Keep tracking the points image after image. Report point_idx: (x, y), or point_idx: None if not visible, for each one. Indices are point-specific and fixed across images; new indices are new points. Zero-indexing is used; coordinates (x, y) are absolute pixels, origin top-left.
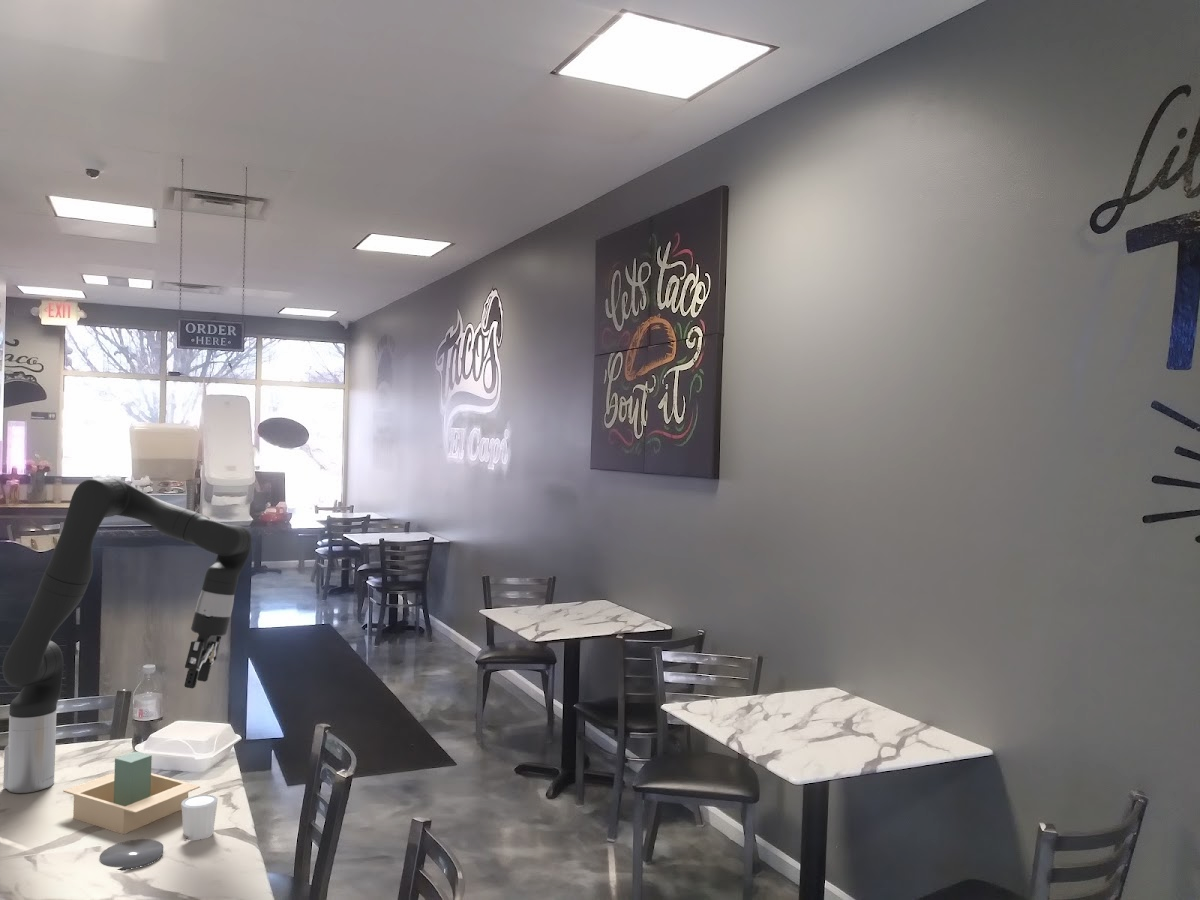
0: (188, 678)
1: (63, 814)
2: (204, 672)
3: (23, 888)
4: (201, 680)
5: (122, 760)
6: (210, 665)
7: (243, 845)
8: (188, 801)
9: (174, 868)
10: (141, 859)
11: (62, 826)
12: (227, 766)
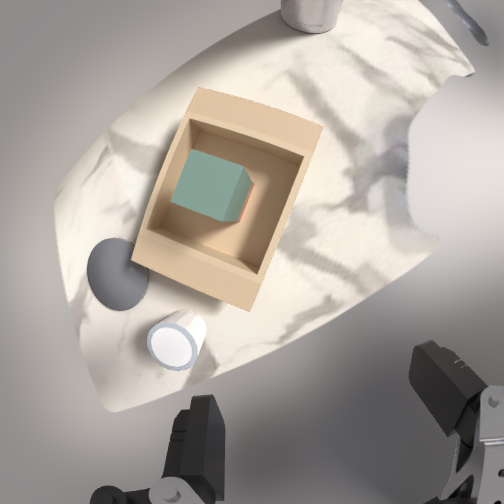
0: (172, 445)
1: None
2: (434, 393)
3: (56, 202)
4: (412, 363)
5: (181, 173)
6: (453, 433)
7: (173, 387)
8: (166, 331)
9: (109, 334)
10: (102, 297)
11: None
12: (437, 246)
